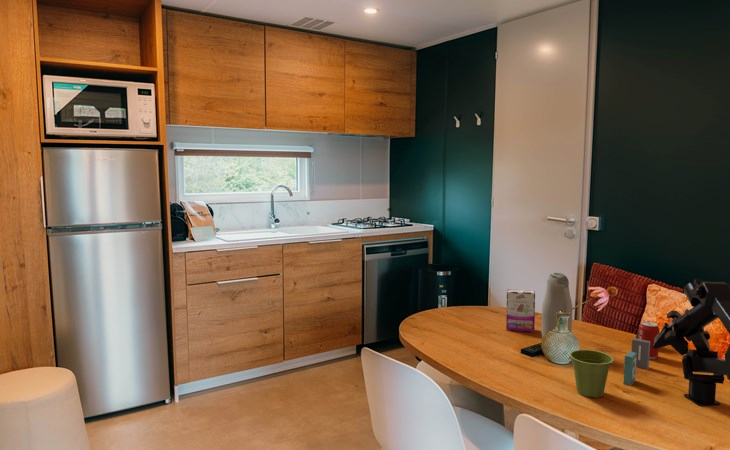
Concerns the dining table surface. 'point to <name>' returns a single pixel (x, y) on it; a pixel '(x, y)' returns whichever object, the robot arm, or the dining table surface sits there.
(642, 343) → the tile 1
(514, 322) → the candy bar box
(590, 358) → the plant pot
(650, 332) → the beverage can
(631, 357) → the tile
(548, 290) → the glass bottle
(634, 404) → the dining table surface
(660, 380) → the dining table surface
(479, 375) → the dining table surface
